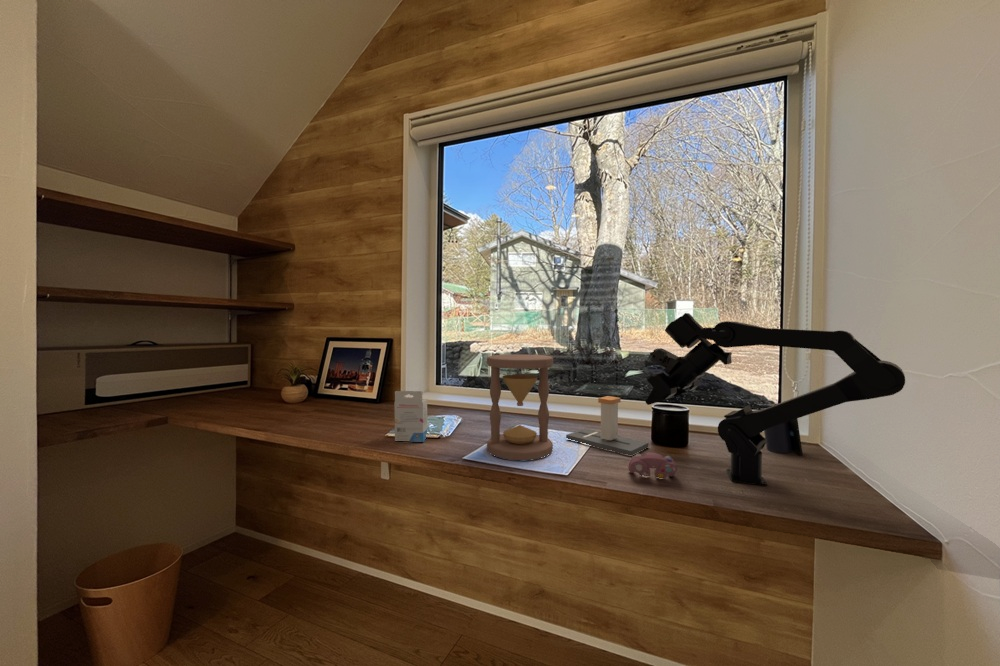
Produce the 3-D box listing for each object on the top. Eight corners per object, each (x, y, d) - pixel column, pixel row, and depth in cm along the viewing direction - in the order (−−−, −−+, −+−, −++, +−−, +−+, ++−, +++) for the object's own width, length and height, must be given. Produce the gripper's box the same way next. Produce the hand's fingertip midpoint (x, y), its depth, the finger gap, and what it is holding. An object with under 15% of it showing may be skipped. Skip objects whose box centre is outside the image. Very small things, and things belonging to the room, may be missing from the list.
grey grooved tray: (648, 448, 104) (648, 442, 104) (631, 457, 97) (631, 450, 97) (585, 433, 118) (585, 427, 118) (566, 439, 111) (566, 434, 111)
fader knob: (620, 437, 107) (620, 397, 107) (611, 441, 104) (611, 400, 104) (607, 434, 110) (607, 395, 110) (598, 438, 107) (598, 398, 106)
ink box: (428, 438, 113) (427, 388, 113) (423, 443, 108) (422, 391, 108) (400, 437, 114) (400, 387, 114) (394, 442, 109) (393, 390, 109)
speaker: (798, 449, 102) (794, 411, 102) (803, 457, 97) (799, 416, 97) (764, 447, 106) (760, 410, 106) (767, 455, 101) (763, 416, 101)
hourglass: (551, 441, 111) (552, 354, 110) (553, 462, 93) (554, 360, 93) (491, 439, 112) (491, 354, 112) (482, 460, 95) (482, 359, 94)
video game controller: (628, 483, 85) (630, 460, 82) (627, 467, 89) (628, 445, 86) (677, 488, 82) (680, 464, 79) (673, 471, 86) (676, 448, 83)
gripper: (686, 336, 101) (645, 374, 109) (655, 338, 88) (611, 381, 96) (719, 369, 95) (673, 406, 104) (691, 376, 82) (641, 418, 91)
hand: (650, 402), depth 99 cm, fingers open, 4 cm apart
